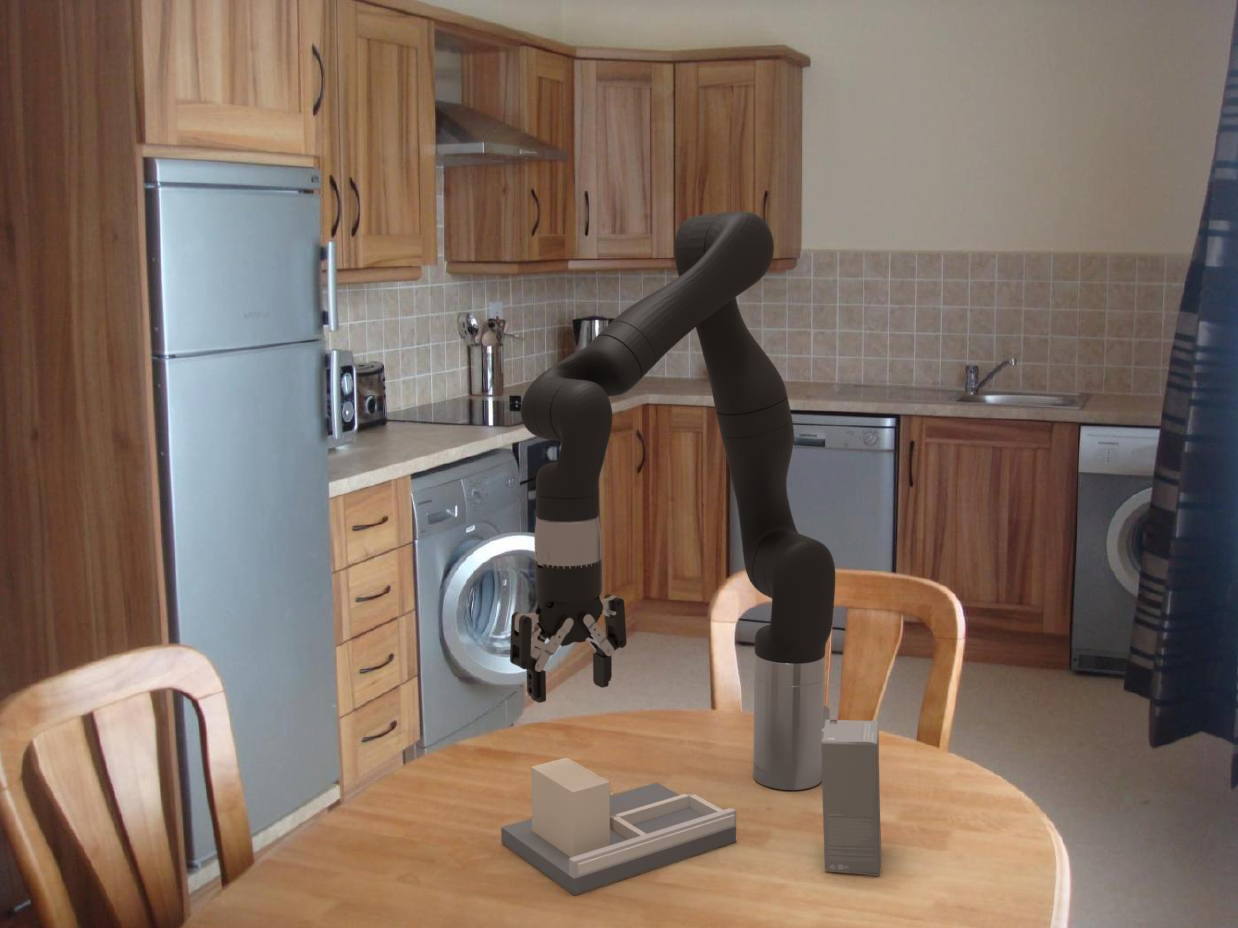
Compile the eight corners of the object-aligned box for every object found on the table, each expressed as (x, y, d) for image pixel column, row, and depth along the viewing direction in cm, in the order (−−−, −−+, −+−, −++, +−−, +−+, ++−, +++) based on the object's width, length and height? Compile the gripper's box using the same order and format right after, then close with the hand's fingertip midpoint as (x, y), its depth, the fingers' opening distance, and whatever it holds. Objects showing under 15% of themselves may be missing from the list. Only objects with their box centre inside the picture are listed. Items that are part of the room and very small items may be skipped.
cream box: (532, 830, 161) (531, 766, 160) (568, 819, 164) (568, 756, 163) (573, 858, 154) (572, 792, 152) (611, 847, 157) (610, 781, 155)
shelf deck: (656, 796, 175) (656, 767, 175) (737, 842, 162) (737, 810, 162) (501, 842, 162) (500, 811, 162) (575, 896, 149) (574, 862, 149)
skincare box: (880, 878, 153) (884, 744, 150) (816, 872, 155) (819, 740, 152) (881, 845, 161) (885, 718, 159) (820, 840, 163) (823, 714, 160)
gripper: (601, 540, 160) (602, 672, 163) (496, 557, 152) (499, 696, 155) (639, 552, 154) (639, 689, 157) (531, 571, 146) (533, 715, 149)
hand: (570, 692), depth 156 cm, fingers open, 8 cm apart
